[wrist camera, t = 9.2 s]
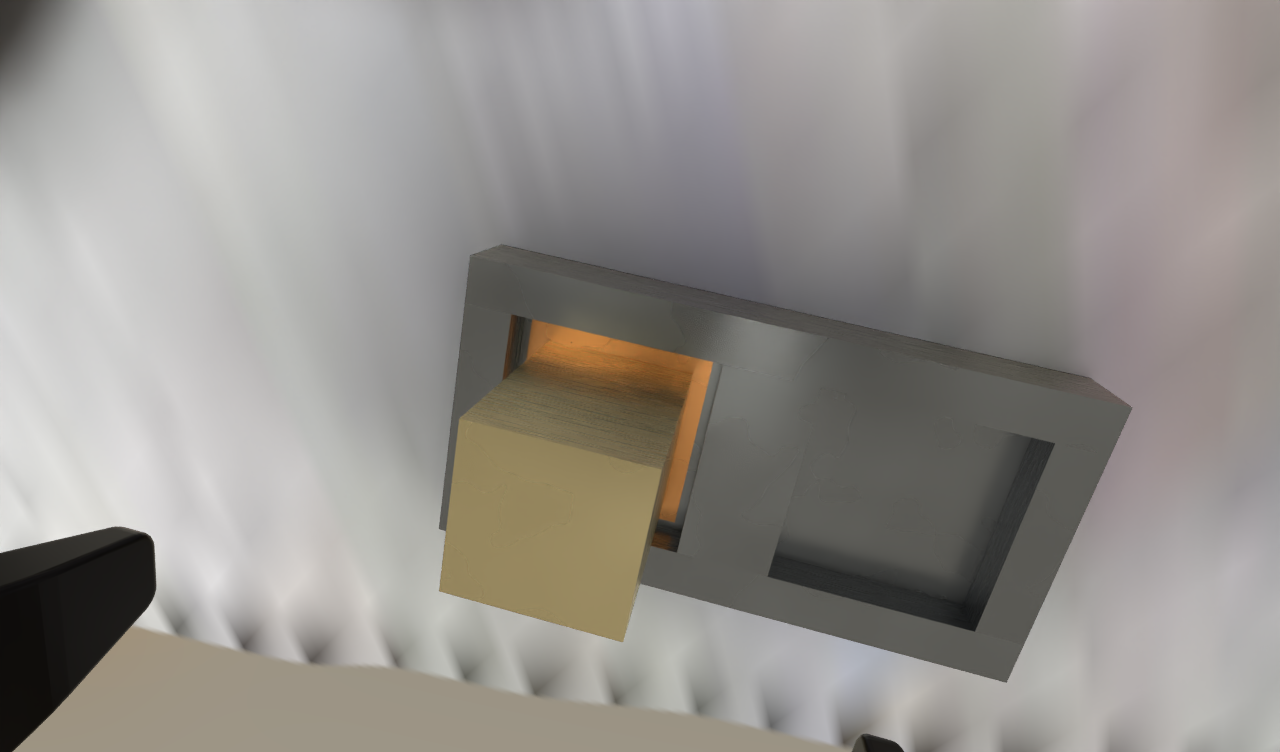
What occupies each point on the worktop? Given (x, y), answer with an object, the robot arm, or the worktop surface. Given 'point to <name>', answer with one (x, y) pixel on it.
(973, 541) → the grey slotted board
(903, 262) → the worktop surface
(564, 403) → the light wood beam
